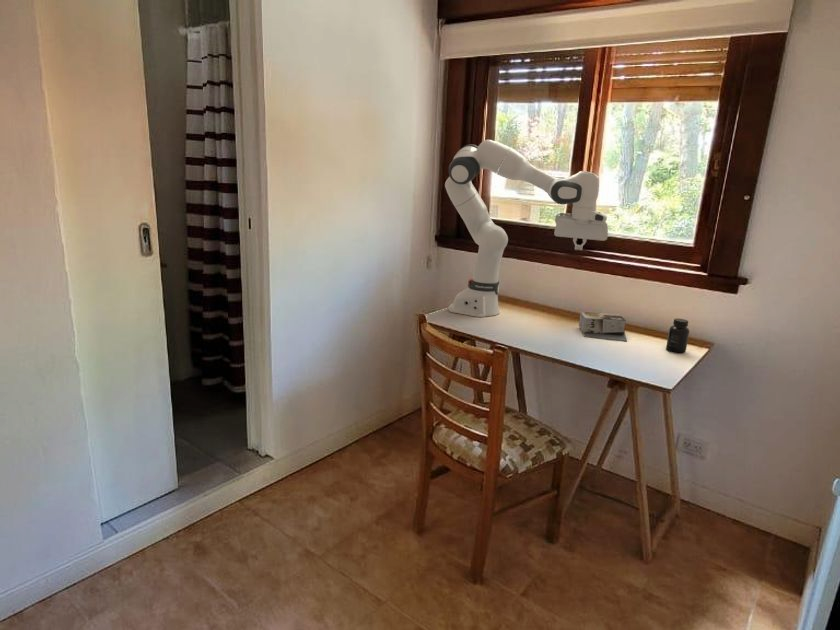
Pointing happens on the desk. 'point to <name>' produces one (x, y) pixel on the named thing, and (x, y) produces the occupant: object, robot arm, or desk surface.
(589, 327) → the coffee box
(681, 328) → the supplement bottle
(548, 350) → the desk surface
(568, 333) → the desk surface
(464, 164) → the robot arm
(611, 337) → the mat
